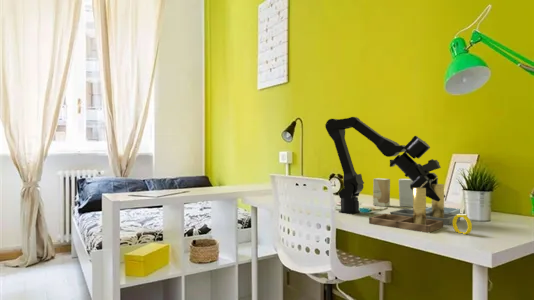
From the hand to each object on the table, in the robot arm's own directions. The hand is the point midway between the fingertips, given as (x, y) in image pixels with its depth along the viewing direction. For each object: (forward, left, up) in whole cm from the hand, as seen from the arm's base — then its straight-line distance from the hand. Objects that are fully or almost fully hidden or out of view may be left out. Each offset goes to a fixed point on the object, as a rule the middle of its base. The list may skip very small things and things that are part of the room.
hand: (442, 199), depth 134 cm
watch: (+12, -15, -8) cm, 21 cm away
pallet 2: (-6, 0, -8) cm, 10 cm away
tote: (-5, +13, -8) cm, 16 cm away
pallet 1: (-6, -15, -8) cm, 18 cm away
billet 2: (-1, 0, -8) cm, 8 cm away
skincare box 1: (-33, +17, -8) cm, 38 cm away
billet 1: (-1, -15, -8) cm, 17 cm away
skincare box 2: (-24, +23, -8) cm, 35 cm away
